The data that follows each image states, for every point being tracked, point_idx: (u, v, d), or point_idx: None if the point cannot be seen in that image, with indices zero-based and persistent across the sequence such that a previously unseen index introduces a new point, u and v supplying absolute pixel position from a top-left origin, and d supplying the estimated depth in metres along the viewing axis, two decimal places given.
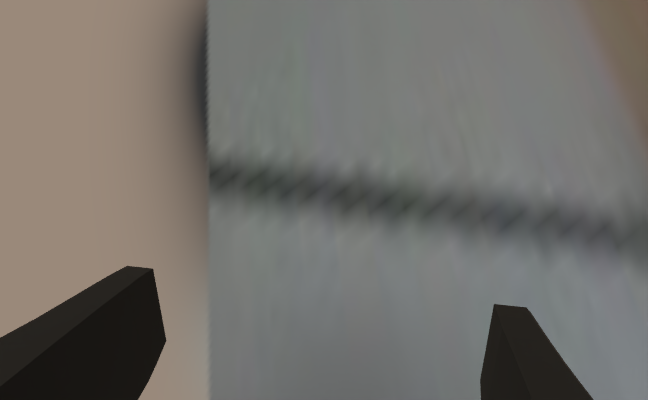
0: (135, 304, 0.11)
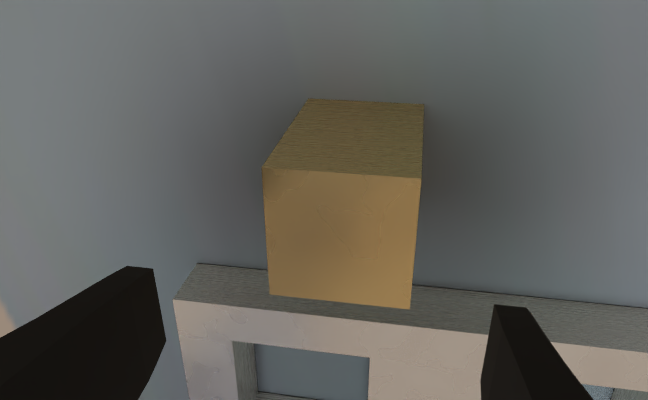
0: (135, 304, 0.11)
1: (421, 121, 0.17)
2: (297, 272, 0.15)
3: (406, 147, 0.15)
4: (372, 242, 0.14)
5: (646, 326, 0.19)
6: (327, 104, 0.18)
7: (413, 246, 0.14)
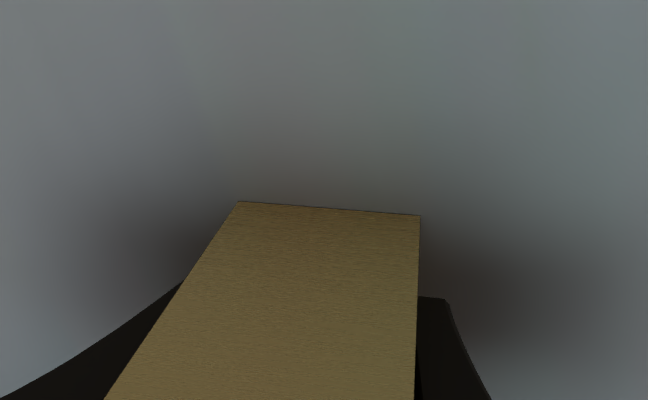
0: None
1: (415, 264, 0.10)
2: None
3: (385, 346, 0.08)
4: None
5: None
6: (265, 216, 0.11)
7: None
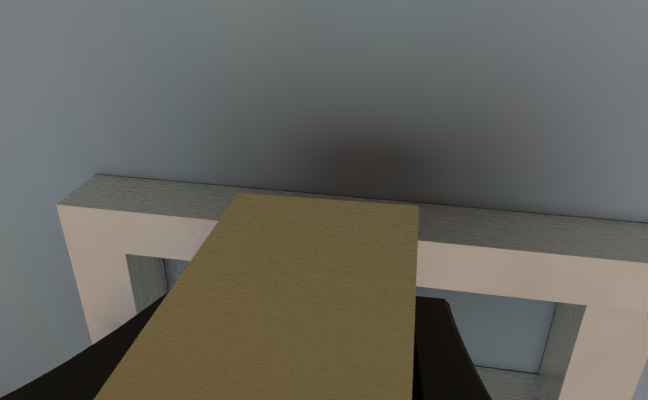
0: None
1: (414, 252, 0.10)
2: None
3: (383, 330, 0.08)
4: None
5: (581, 233, 0.17)
6: (264, 207, 0.11)
7: None
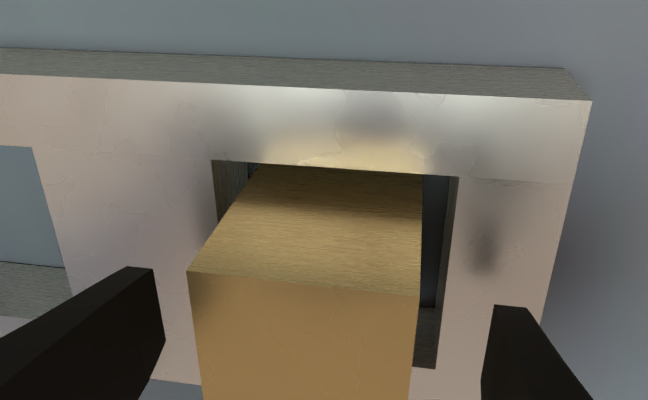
0: (135, 304, 0.11)
1: (420, 184, 0.12)
2: None
3: (398, 232, 0.10)
4: (348, 374, 0.10)
5: (455, 76, 0.12)
6: None
7: (407, 383, 0.10)
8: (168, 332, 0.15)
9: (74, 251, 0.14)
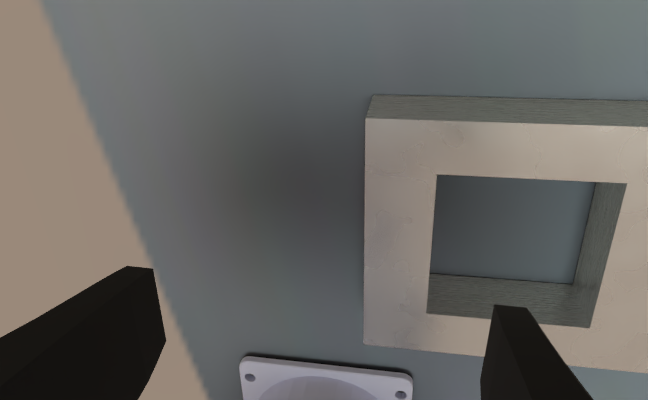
0: (135, 304, 0.11)
1: None
2: None
3: None
4: None
5: None
6: None
7: None
8: None
9: (619, 267, 0.17)
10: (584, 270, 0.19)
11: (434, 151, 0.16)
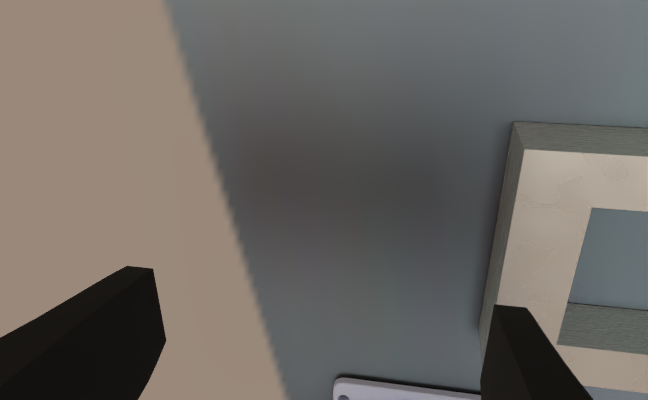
0: (135, 304, 0.11)
1: None
2: None
3: None
4: None
5: None
6: None
7: None
8: None
9: None
10: None
11: (593, 184, 0.16)
